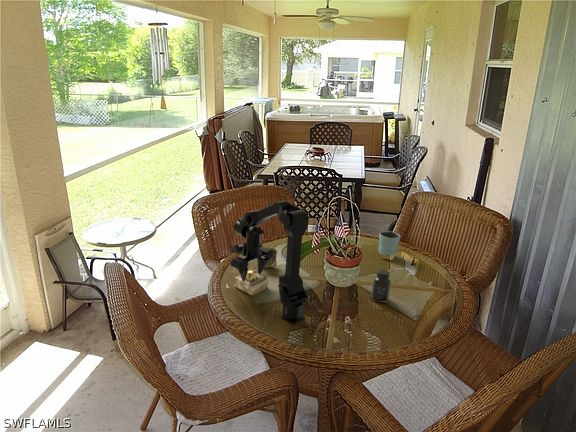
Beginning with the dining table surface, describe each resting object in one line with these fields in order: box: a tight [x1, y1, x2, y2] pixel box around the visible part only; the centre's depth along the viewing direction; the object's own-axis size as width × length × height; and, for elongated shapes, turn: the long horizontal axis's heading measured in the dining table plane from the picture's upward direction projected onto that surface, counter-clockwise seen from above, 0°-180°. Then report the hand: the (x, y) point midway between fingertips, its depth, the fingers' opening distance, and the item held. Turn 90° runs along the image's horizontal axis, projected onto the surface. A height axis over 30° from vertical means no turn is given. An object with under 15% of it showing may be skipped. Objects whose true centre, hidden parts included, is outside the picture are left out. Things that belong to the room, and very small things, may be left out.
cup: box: [265, 247, 278, 269], centre depth 188 cm, size 8×7×8 cm
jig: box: [234, 273, 269, 296], centre depth 170 cm, size 10×9×5 cm
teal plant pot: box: [377, 230, 401, 255], centre depth 208 cm, size 10×10×12 cm
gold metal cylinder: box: [246, 268, 258, 282], centre depth 170 cm, size 4×4×7 cm
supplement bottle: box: [371, 269, 392, 302], centre depth 167 cm, size 7×7×12 cm
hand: (251, 277), depth 169 cm, fingers open, 9 cm apart
